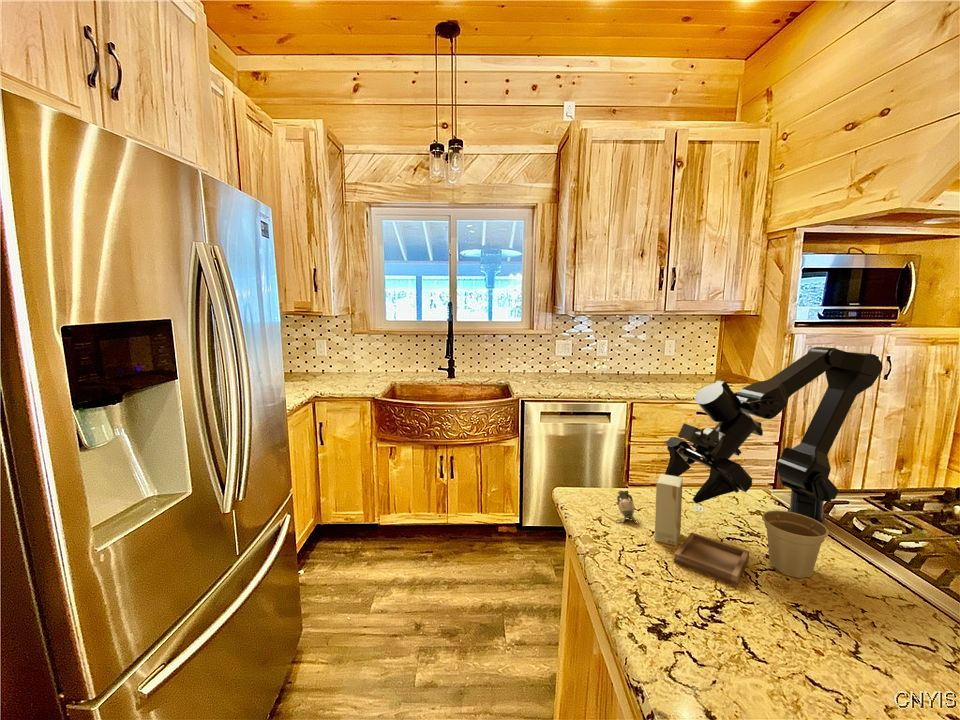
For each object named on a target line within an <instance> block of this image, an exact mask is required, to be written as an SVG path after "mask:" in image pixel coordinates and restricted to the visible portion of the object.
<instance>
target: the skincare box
mask: <svg viewBox="0 0 960 720" xmlns="http://www.w3.org/2000/svg"><path fill="white" fill-rule="evenodd" d="M656 481H657V482H656V488H655V515H654V517H655V519H654V523H655V524H654V541H657V542H660V543H664V544H667V545H668V544H669V545H673V546H676V547H677V546H678V544H679V541H680V537H681V531H682V529H681V527H682V505H683V503H682V502H683V499H682V497H683V477H682V476H678V477H677V476H671V475H666V474H665V473H660V475H659V477H658V478H657V480H656Z"/></svg>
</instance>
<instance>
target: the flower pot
mask: <svg viewBox="0 0 960 720" xmlns="http://www.w3.org/2000/svg"><path fill="white" fill-rule="evenodd" d="M761 518H762V521H763V523H764V527H765V529H766V537H767V545H768V560H769V564H770V565H771V566H772V568H775V569H777V570H778V571H779V572H780V573H781V574H784V575H786V576H790V577H791V578H792V577H793V578H798V579H804V578H807V577H808V578H811V577H812V576H813V574H814V569H815V566H816V563H817V559H818V557H819V553H820V550H821V546H822V544H823V543H824V542H825V539H826V538H827V537H828V535H829V533H830V531H829V529H828V528H827V526H826V525H825V524H824V525H823V524H822V523H820V522H818V521H816V520H814V519H812V518H810V517H807V516H804V515H801V514H797V513H793V512H788V510H787V511H785V510H779V509H778V510H777V509H776V510H775V509H774V510H768V511H764V512H763V513H762V515H761Z"/></svg>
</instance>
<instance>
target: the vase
mask: <svg viewBox="0 0 960 720" xmlns="http://www.w3.org/2000/svg"><path fill="white" fill-rule="evenodd" d="M617 494H618V495H617V496H616V501H617V505H618V506H617V507H618V510H619V512H620V513H621V514H622V515H623V516H624V517H623V518H617V519H615V522H619V521H621V522H620V523H622V521H623V522H625V520H624V519H626V518H629V519H632V521H633V520H634V521H633V523H634V524H635V523H637V522H638V523H640V521H639V518H636V517H635V516H633V515H634V512H635V504H634V499H633V496H634V494H633V493H632V494H633V496H632V495H631V494H629V490H624V491H623V490H619V491H617ZM636 521H637V522H636Z"/></svg>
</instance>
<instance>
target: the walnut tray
mask: <svg viewBox="0 0 960 720" xmlns="http://www.w3.org/2000/svg"><path fill="white" fill-rule="evenodd" d="M673 558H674V559H673V564H676V565H679V566H682V567H685V568H687V569H690V570H693V571H695V572H697V573H699V574H700V573H701V574H703V575H706V576H709V577H710V578H713V579H716V580H719V581H721V582H724V583H727V584H728V585H731V586H734V587H735V588H736V587H737V586H738V584H739V582H740V580H741V578H742V576H743V574H744V572H745V570H746V567H747V565H748V563H749V562H750V550H747V549H743V548H741V547H738V546H734V545H731V544H728V543H726V542H722V541H719V540H716V539H712V538H710V537H707V536H703V535H700V534H698V533H694V532H690V533H689V534H688V535H687V537H686V539H684V541H683V542H682V543H681V545H680V546H678V548H677V550H676V551H675V552H674V557H673Z"/></svg>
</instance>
